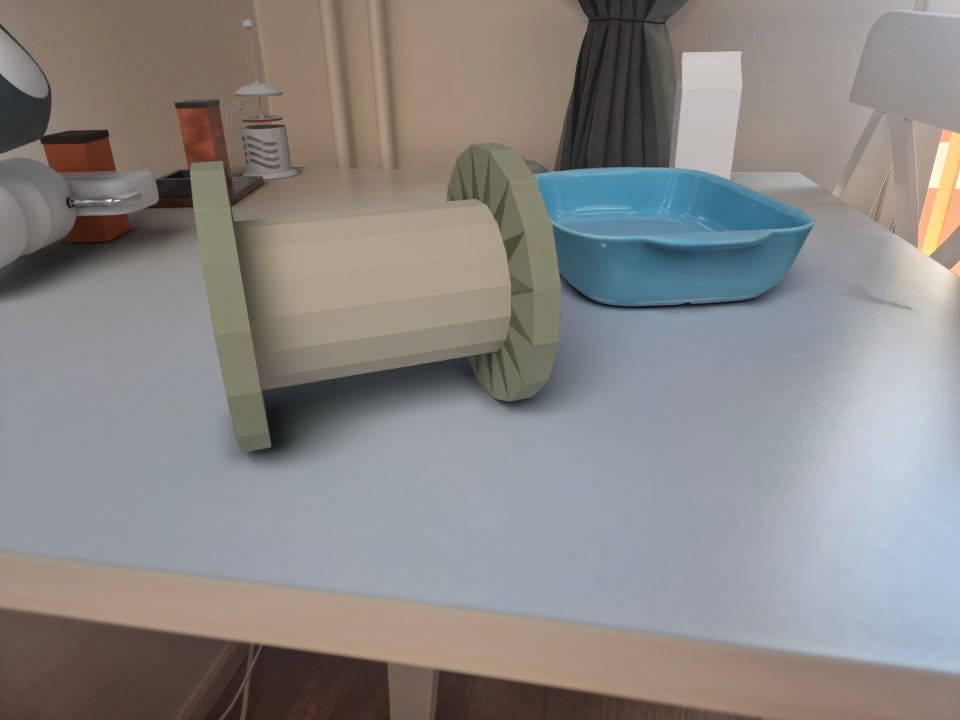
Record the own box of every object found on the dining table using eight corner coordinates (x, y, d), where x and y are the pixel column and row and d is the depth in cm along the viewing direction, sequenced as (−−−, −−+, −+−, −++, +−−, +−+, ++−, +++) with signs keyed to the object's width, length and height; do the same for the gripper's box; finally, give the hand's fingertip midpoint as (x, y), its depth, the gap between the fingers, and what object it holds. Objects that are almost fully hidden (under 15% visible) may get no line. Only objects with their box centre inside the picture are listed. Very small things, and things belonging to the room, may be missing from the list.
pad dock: (133, 208, 97) (110, 109, 92) (180, 185, 114) (162, 99, 108) (231, 205, 97) (214, 106, 92) (263, 183, 114) (251, 97, 108)
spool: (468, 342, 51) (462, 132, 44) (556, 440, 38) (565, 164, 32) (237, 379, 46) (193, 148, 39) (248, 506, 33) (186, 194, 27)
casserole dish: (507, 223, 84) (507, 164, 81) (682, 216, 86) (688, 158, 83) (565, 338, 51) (568, 245, 48) (849, 323, 53) (869, 232, 50)
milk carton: (726, 210, 89) (747, 51, 81) (670, 209, 90) (685, 52, 82) (717, 199, 95) (736, 51, 87) (665, 199, 96) (679, 52, 88)
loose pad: (68, 242, 80) (38, 136, 75) (94, 230, 86) (68, 130, 81) (108, 241, 80) (81, 135, 75) (131, 229, 86) (108, 129, 81)
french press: (281, 179, 116) (258, 17, 106) (221, 178, 119) (193, 19, 108) (307, 170, 125) (289, 19, 115) (251, 169, 128) (228, 21, 117)
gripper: (119, 170, 67) (172, 150, 80) (-90, 175, 67) (-3, 154, 79) (134, 232, 70) (183, 204, 82) (-67, 237, 69) (13, 208, 82)
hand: (90, 180), depth 81 cm, fingers closed on loose pad, 4 cm apart
